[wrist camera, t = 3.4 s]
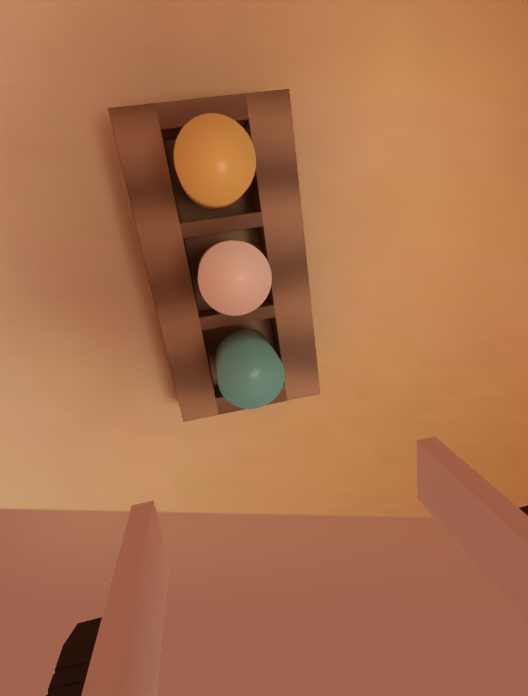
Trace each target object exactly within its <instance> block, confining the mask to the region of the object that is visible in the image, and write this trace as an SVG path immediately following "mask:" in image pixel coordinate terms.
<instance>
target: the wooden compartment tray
mask: <svg viewBox="0 0 528 696" xmlns="http://www.w3.org/2000/svg"><path fill="white" fill-rule="evenodd" d="M108 111H109V115H110V119H111V123H112V127H113V132H114V136H115V140H116V144H117V148H118V152H119V157H120V161H121V165H122V169H123V173H124V177H125V181H126V186H127V190H128V194H129V198H130V202H131V206H132V210H133V215H134V219H135V223H136V227H137V231H138V235H139V240H140V244H141V248H142V252H143V256H144V260H145V264H146V269H147V273H148V277H149V281H150V285H151V289H152V294H153V298H154V302H155V306H156V310H157V314H158V318H159V323H160V327H161V331H162V335H163V339H164V343H165V348H166V352H167V356H168V360H169V364H170V368H171V372H172V377H173V381H174V385H175V389H176V393H177V397H178V401H179V406H180V410H181V414H182V418H183V422H185V421H190V420H195V419H200V418H205V417H209V416H214V415H219V414H224V413H229V412H234V411H239V410H244V408H240V407H237V406H235V405H233V404H231V403H230V402H228V401H227V400H226V399H225V398H224V396H223V395H222V393H221V391H220V389H219V386H218V379H217V369H216V360H215V354H216V349H217V346H218V344H219V342H220V341H221V339H222V338H223V337H224V336H225V335H227V334H228V333H230V332H231V331H234V330H237V329H242V328H247V329H253V330H256V331H258V332H260V333H261V334H262V335H264V336H265V337H266V338H267V340H268V341H269V343H270V344H271V346H272V348H273V349H274V351H275V352H276V354H277V355H278V357H279V359H280V360H281V362H282V364H283V367H284V371H285V380H284V385H283V387H282V389H281V391H280V393H279V394H278V396H277V397H276V398H275V399H274V400H273V401H271V402H270V403H269V404H273V403H278V402H282V401H287V400H292V399H297V398H302V397H307V396H312V395H316V394H320V387H319V377H318V367H317V358H316V348H315V338H314V328H313V319H312V309H311V299H310V289H309V280H308V270H307V260H306V250H305V241H304V231H303V221H302V211H301V201H300V192H299V182H298V172H297V162H296V153H295V143H294V133H293V123H292V114H291V104H290V94H289V89H284V90H274V91H265V92H256V93H246V94H237V95H228V96H218V97H209V98H200V99H190V100H181V101H171V102H162V103H153V104H143V105H134V106H125V107H115V108H108ZM207 113H216V114H222V115H225V116H227V117H230V118H231V119H233V120H235V121H236V122H237V123H239V124H240V125H241V126H242V127H243V128H244V129H245V131H246V132H247V133H248V135H249V137H250V139H251V141H252V143H253V146H254V149H255V154H256V169H255V174H254V177H253V180H252V182H251V184H250V186H249V187H248V189H247V190H246V191H245V192H244V193H243V195H242V196H241V197H240V198H239V199H238V200H237V201H236V202H235V203H234V204H232V205H231V206H229V207H227V208H224V209H221V210H209V209H205V208H202V207H200V206H198V205H197V204H195V203H194V202H193V201H192V200H191V199H190V198H189V197H188V196H187V194H186V193H185V191H184V189H183V187H182V185H181V182H180V180H179V177H178V175H177V172H176V169H175V165H174V146H175V142H176V139H177V136H178V134H179V133H180V131H181V129H182V128H183V127H184V126H185V125H186V124H187V123H188V122H189V121H190V120H191V119H193V118H195V117H197V116H199V115H202V114H207ZM225 240H234V241H242V242H246V243H249V244H251V245H253V246H254V247H256V248H257V249H258V250H260V251H261V252H262V254H263V255H264V256H265V258H266V259H267V261H268V263H269V265H270V268H271V273H272V283H271V288H270V291H269V294H268V296H267V298H266V299H265V301H264V302H263V303H262V304H261V305H260V306H259V307H258V308H257V309H255V310H254V311H252V312H250V313H247V314H244V315H239V316H231V315H226V314H222V313H220V312H218V311H216V310H215V309H213V308H212V307H211V306H210V305H209V304H208V303H207V302H206V301H205V300H204V298H203V296H202V295H201V292H200V289H199V286H198V270H199V264H200V260H201V258H202V256H203V254H204V253H205V252H206V250H207V249H208V248H209V247H211V246H212V245H214V244H215V243H218V242H220V241H225ZM267 405H268V404H267Z"/></svg>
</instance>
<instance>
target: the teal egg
mask: <svg viewBox="0 0 528 696" xmlns="http://www.w3.org/2000/svg"><path fill="white" fill-rule="evenodd" d="M215 360H216V369H217V379H218V386H219V389H220V391H221V393H222V395H223V396H224V398H225V399H226V400H227V401H228V402H230V403H231V404H233V405H235V406H237V407H240V408H244V409H254V408H259V407H262V406H265V405H267V404H269V403H270V402H271V401H273V400H274V399H275V398H276V397H277V396H278V394H279V393H280V391H281V389H282V387H283V385H284V380H285V371H284V367H283V364H282V362H281V360H280V359H279V357H278V355H277V354H276V352H275V351H274V349H273V348H272V346H271V344H270V343H269V341H268V340H267V338H266V337H265V336H264V335H262V334H261V333H260V332H258V331H256V330H253V329H247V328H242V329H237V330H234V331H231V332H230V333H228V334H227V335H225V336H224V337H223V338H222V339H221V341H220V342H219V344H218V346H217V349H216V354H215Z"/></svg>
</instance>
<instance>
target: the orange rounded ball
mask: <svg viewBox="0 0 528 696" xmlns="http://www.w3.org/2000/svg"><path fill="white" fill-rule="evenodd" d="M174 165H175V169H176V172H177V175H178V177H179V180H180V182H181V185H182V187H183V189H184V191H185V193H186V194H187V196H188V197H189V198H190V199H191V200H192V201H193V202H194V203H195V204H197V205H198V206H200V207H202V208H205V209H209V210H221V209H224V208H227V207H229V206H231V205H232V204H234V203H235V202H236V201H237V200H238V199H239V198H240V197H241V196H242V195H243V193H244V192H245V191H246V190H247V189H248V187H249V186H250V184H251V182H252V180H253V177H254V174H255V169H256V154H255V149H254V146H253V143H252V141H251V139H250V137H249V135H248V133H247V132H246V131H245V129H244V128H243V127H242V126H241V125H240V124H239V123H237V122H236V121H235V120H233V119H231V118H230V117H227V116H225V115H222V114H216V113H207V114H202V115H199V116H197V117H195V118H193V119H191V120H190V121H189V122H188V123H187V124H186V125H185V126H184V127H183V128H182V129H181V131H180V133H179V134H178V136H177V139H176V142H175V146H174Z"/></svg>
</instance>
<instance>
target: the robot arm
mask: <svg viewBox="0 0 528 696" xmlns="http://www.w3.org/2000/svg"><path fill="white" fill-rule="evenodd" d="M417 498H418V499H419V500H420V501H421V502H422V504H423V505H424V506H425V507H426V508H427V510H428V511H429V512H430V513H431V515H432V516H433V517H434V518H435V519H436V521H437V522H438V523H439V524H440V525H441V527H442V528H443V529H444V530H445V531H446V533H447V534H448V535H449V536H450V537H451V539H452V540H453V541H454V542H455V544H456V545H457V546H458V547H459V548H460V550H461V551H462V552H463V553H464V554H465V556H466V557H467V558H468V559H469V560H470V562H471V563H472V564H473V565H474V566H475V567H476V569H477V570H478V571H479V573H480V574H481V575H482V576H483V577H484V579H485V580H486V581H487V582H488V583H489V585H490V586H491V587H492V588H493V589H494V591H495V592H496V593H497V594H498V595H499V597H500V598H501V599H502V600H503V602H504V603H505V604H506V605H507V606H508V607H509V609H510V610H511V611H512V612H513V614H514V615H515V616H516V617H517V618H518V620H519V621H520V622H521V623H522V624H523V625H524V627H525V628H526V629H527V630H528V506H524V507H521V508H518V507H517V506H516V505H514V504H513V503H512V502H511V501H510V500H509V499H507V498H506V497H505V496H504V495H503V494H502V493H500V492H499V491H498V490H497V489H496V488H495V487H493V486H492V485H491V484H490V483H489V482H488V481H486V480H485V479H484V478H483V477H482V476H480V475H479V474H478V473H477V472H476V471H475V470H473V469H472V468H471V467H470V466H469V465H468V464H466V463H465V462H464V461H463V460H462V459H461V458H459V457H458V456H457V455H456V454H455V453H454V452H452V451H451V450H450V449H449V448H448V447H447V446H445V445H444V444H443V443H442V442H441V441H440V440H438V439H437V438H436V437H430V438H426V439H421V440H417ZM169 566H170V556H169V552H168V549H167V546H166V542H165V539H164V536H163V532H162V529H161V525H160V522H159V519H158V515H157V512H156V508H155V505H154V501H150V502H145V503H141V504H137V505H132V506H131V510H130V514H129V518H128V521H127V525H126V529H125V533H124V536H123V540H122V544H121V548H120V552H119V555H118V559H117V563H116V567H115V570H114V575H113V578H112V582H111V586H110V590H109V593H108V597H107V601H106V604H105V608H104V612H103V616H102V617H101V618H97V619H94V620H90V621H86V622H82V623H78V624H77V625H76V627H75V629H74V630H73V632H72V633H71V635H70V636H69V638H68V639H67V641H66V642H65V644H64V645H63V647H62V650H61V653H60V656H59V659H58V662H57V665H56V668H55V674H54V675H53V677H52V680H51V683H50V686H49V688H48V695H46V696H156V694H157V684H158V675H159V665H160V654H161V645H162V634H163V624H164V616H165V606H166V596H167V586H168V585H167V584H168V576H169Z"/></svg>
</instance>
